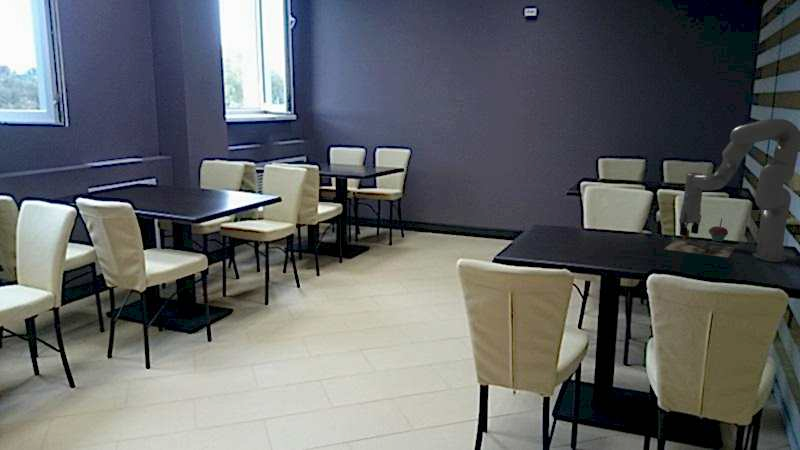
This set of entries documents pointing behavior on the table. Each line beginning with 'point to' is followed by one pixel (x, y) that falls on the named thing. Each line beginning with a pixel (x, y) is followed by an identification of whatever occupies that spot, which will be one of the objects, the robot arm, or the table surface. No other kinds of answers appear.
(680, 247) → the cracker base
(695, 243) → the lever
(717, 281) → the table surface
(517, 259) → the table surface
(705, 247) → the walnut
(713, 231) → the cupcake
